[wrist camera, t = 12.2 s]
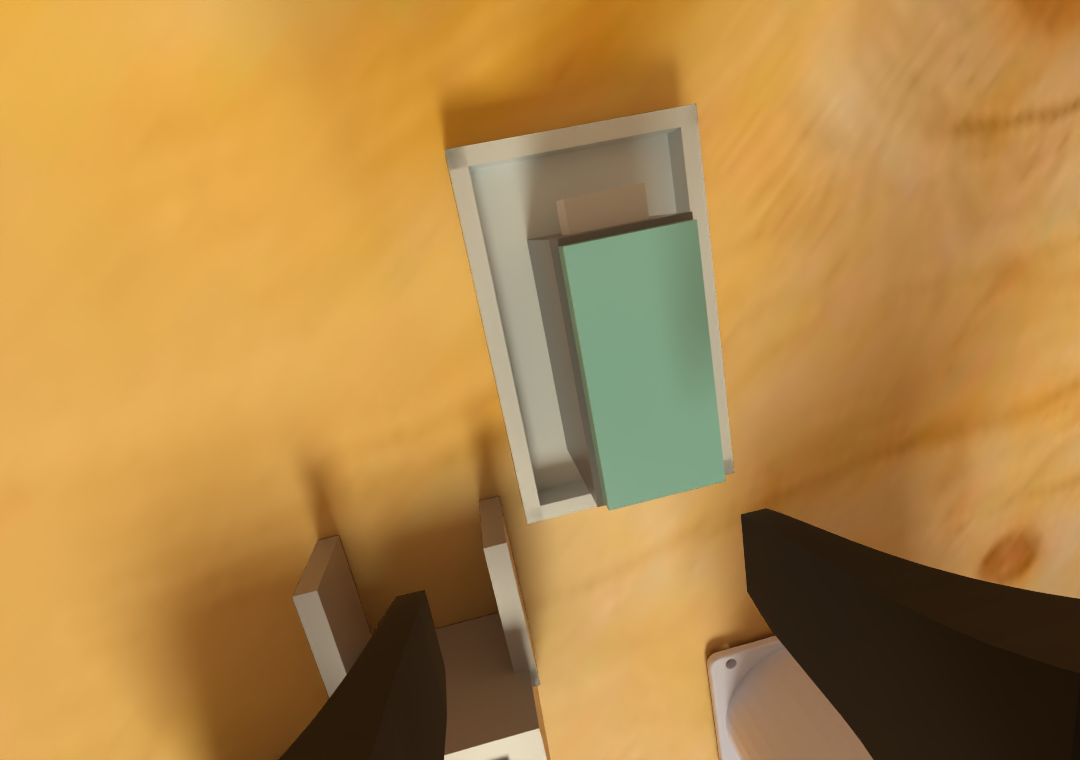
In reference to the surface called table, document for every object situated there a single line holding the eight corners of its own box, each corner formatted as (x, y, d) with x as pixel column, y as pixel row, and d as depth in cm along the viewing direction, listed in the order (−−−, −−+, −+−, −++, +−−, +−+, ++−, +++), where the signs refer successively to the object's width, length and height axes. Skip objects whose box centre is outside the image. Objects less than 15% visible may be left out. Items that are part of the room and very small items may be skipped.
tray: (677, 114, 19) (696, 103, 18) (715, 456, 23) (734, 472, 21) (445, 157, 19) (444, 149, 17) (522, 504, 22) (527, 524, 21)
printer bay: (498, 496, 22) (515, 594, 16) (542, 681, 24) (570, 827, 18) (317, 540, 21) (262, 660, 15) (381, 726, 24) (356, 892, 18)
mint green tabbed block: (632, 188, 19) (698, 169, 14) (665, 425, 22) (732, 485, 16) (521, 210, 19) (546, 199, 14) (567, 449, 21) (603, 518, 16)
